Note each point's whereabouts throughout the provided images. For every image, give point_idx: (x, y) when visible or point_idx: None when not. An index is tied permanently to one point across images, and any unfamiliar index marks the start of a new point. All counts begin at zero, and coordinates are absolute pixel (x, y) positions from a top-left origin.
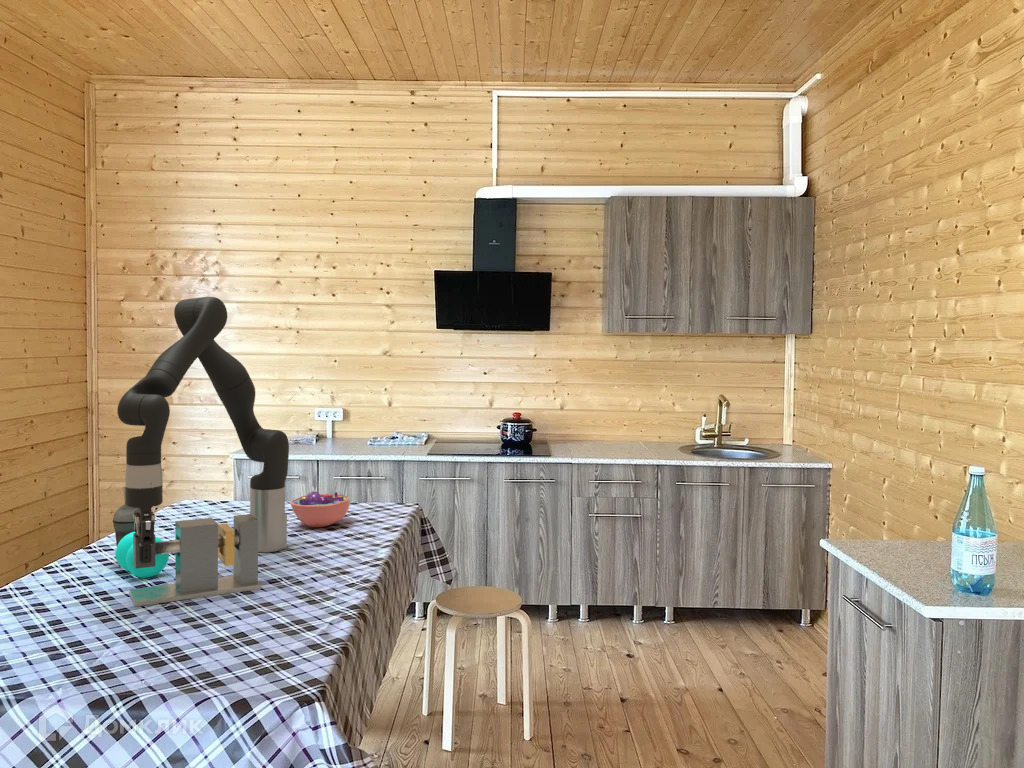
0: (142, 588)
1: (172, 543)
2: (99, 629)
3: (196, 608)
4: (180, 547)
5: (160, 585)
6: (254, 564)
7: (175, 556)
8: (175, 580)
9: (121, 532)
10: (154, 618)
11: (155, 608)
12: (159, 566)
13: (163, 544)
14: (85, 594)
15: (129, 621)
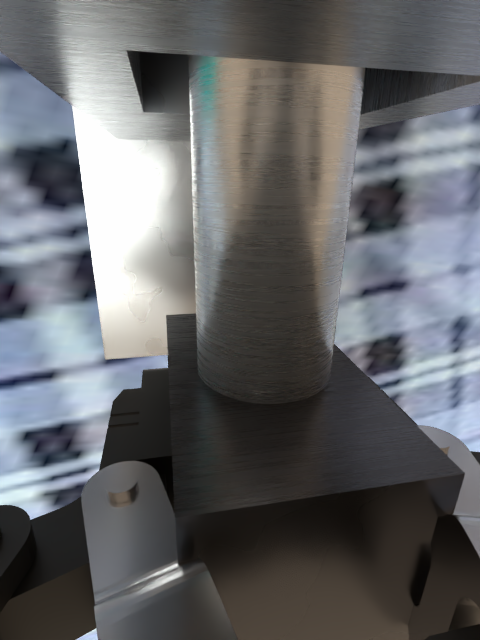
0: (113, 306)
1: (345, 185)
2: (446, 429)
3: (457, 109)
4: (469, 104)
5: (92, 219)
6: None
7: (92, 116)
8: (114, 136)
9: None
10: (460, 283)
11: (358, 269)
12: None
13: (333, 297)
14: (50, 492)
15: (435, 357)
